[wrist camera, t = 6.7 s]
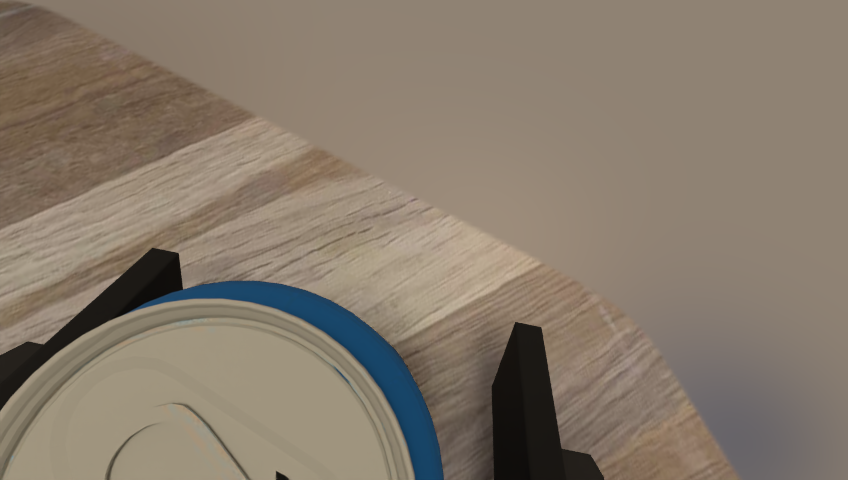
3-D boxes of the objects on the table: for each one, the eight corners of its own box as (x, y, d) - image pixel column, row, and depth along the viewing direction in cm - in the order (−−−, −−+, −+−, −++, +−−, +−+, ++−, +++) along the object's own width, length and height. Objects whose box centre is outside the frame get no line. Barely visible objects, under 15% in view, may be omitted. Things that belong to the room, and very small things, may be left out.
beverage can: (316, 551, 16) (109, 1049, 5) (202, 405, 17) (-212, 516, 6) (453, 417, 18) (561, 545, 6) (340, 287, 18) (240, 173, 7)
